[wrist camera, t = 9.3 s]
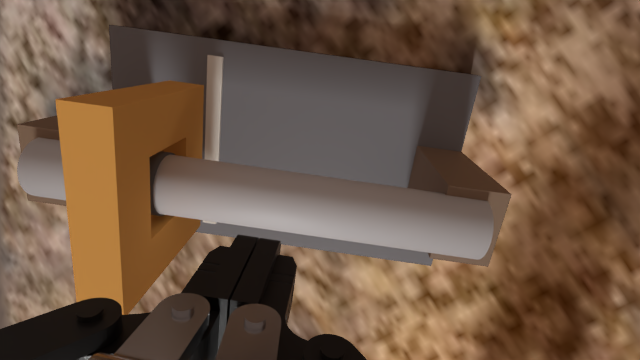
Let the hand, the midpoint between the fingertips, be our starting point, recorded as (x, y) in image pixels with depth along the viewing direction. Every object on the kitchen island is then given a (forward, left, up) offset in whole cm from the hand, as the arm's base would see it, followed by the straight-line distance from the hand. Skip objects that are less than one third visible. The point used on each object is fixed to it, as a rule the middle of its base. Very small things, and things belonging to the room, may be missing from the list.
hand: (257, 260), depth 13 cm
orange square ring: (+7, 0, -10) cm, 12 cm away
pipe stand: (+1, 0, -16) cm, 16 cm away
